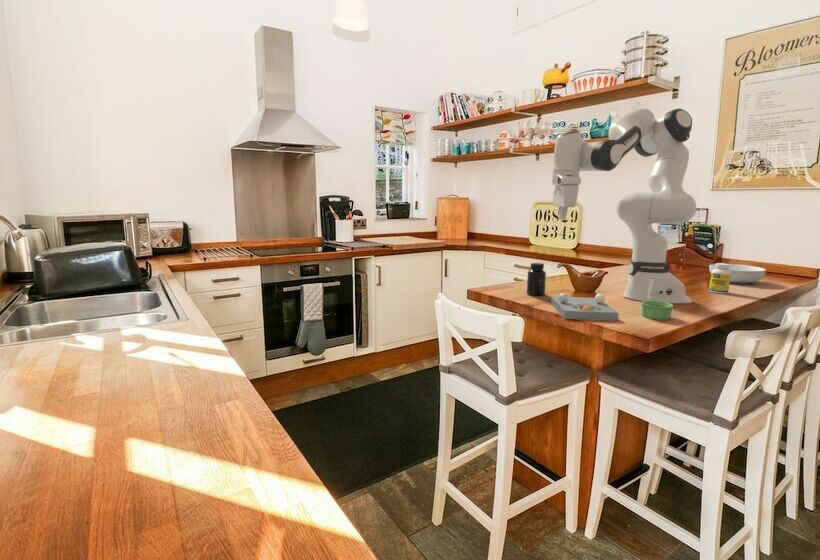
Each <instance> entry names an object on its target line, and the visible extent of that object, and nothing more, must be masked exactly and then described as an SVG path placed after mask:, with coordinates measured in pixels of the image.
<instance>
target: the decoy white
mask: <svg viewBox="0 0 820 560" xmlns="http://www.w3.org/2000/svg"><path fill="white" fill-rule="evenodd" d="M594 298H595V301H596V302H597V303H603V302H604V303H605V301H606V297H605V295H604V294H602V293H597V294H596V295H595V296H594Z"/></svg>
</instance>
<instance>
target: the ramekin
mask: <svg viewBox="0 0 820 560" xmlns="http://www.w3.org/2000/svg"><path fill="white" fill-rule="evenodd" d="M640 303H641V315H642V317H644V318H646V317H647V318H646V319H650V318H651V319H650V320H655V319H657V320H656V321H667V319H668V320H669V319H670V318H671V317H672V316H671V315H672V310H673V309H674V304H673V303H666V302H661V301H640Z"/></svg>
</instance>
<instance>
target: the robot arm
mask: <svg viewBox="0 0 820 560" xmlns="http://www.w3.org/2000/svg"><path fill="white" fill-rule="evenodd" d="M692 127H693V119H692V116H691V115H690V113H689V112H688V111H686V110H685V109H682V108H675V109H672V110H670V111H668V112H666V113H665V114H664V115H662V116H660V117H658V118H657V119H656V117H655V115H654V113H653V111H651V110H650V109H648V108H644V107H643V108H637V109H634V110H631V111H630V112H627V113H625V114H624V115H622V116H620V117H619V118H617V119H616V120H614V121H613V122H612V123H611V124H610V125H609V129H608V138H609V139H607V140H602V141H592V142H588V141H586V140H585V139H583V137H582V134H581V131H577V130H575V131H567V132H562V133H560V134H558V135H557V137H556V138H555V139H556V140H555V142H554V143H555V145H554V150H553V151H554V153H553V162H554V163H553V164H554V166H553V168H552V175H551V176H552V178H551V185H552V186H554V189H553V195H552V206H554V207H558V210H557V211H558V220H560V221H565V220H566V219H567V214H568V211H569V208H575V207H576V205H577V202H578V201H577V200H578V196H579V195H578V194H579V185H581V182H582V179H581V177H580V172H596V171H600V172H601V171H602V172H611V171H612V170H614V169H615V168H616V167H618V165H619V164H620V162H621V160H622V159H623V158H624V157H625V156H626V155H627V154H629V153H630V151H632V150H633V149H634V150H635V152H636V153H638V155H640V156H642V157H644V158H648V157H651V156H654V155H656V154H657V158H656V160H655V162H654V164H653V167H652V169H651V172H650V175H649V177H648V179H647V184H648V187H649V189H650V190H651V191H652V192H632V193H627V194H623V195H622V196H621V197H620V198H619V200H618V201H617V203H616V213H617V216H618V217H619V219H620V220H621V221H623V222H624V223H625V224H626V226H627V227H628V229H629V231H630V233H631V236H632V256H631V259H630V262H629V266H628V267H629V269H628V272H629V273H628V274H629V275H628V281H627V284H626V287H625V290H624V292H623V295H622V296H623V297H625V298H626V299H628V300H629V299H630V300H633V301H639V302H642V301H661V302H666V303H670V304H692V301H693V300H692V298H690V297H688V296H686V287H685V284H684V283H683V282H682V281H680V280H679V279H678V278H677V277H676V276H675V275H673V274H672V273H671V272H670V270H672V271H674V270H675V269H677V266H675V264H673V263H669V262H667V261H666V260H667V252H668V251H667V250H668V240H667V239H666V238H665V236H663V235H662V234H660V233H658V232H656V231H655V230H654V229H653V224H662V225H677V224H685V223H689V222H690V221H691V220H692V219H693V218H694V216H695V215H696V212H697V203H696V200H695V198H694V197H693V196H692V195H691V194H689V193H687V192H686V191H685V190H684V189H683V182H684V178H685V174H686V172H687V169H688V165H689V159H690V152H689V151H690V150H689V149H688V147H687V146H686V145H685V144H684V142H686V141H688V140H689V138H690V132H691V131H692Z"/></svg>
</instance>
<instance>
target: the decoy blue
mask: <svg viewBox="0 0 820 560" xmlns="http://www.w3.org/2000/svg"><path fill="white" fill-rule="evenodd" d="M557 297H558V298H559V301H560V302H562V303H565V302H567V301H568V299H569V297H570V296H569V295H568V294H567V293H566V292H565V293H564V292H562V293H560V294H559V295H558V296H557Z"/></svg>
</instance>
